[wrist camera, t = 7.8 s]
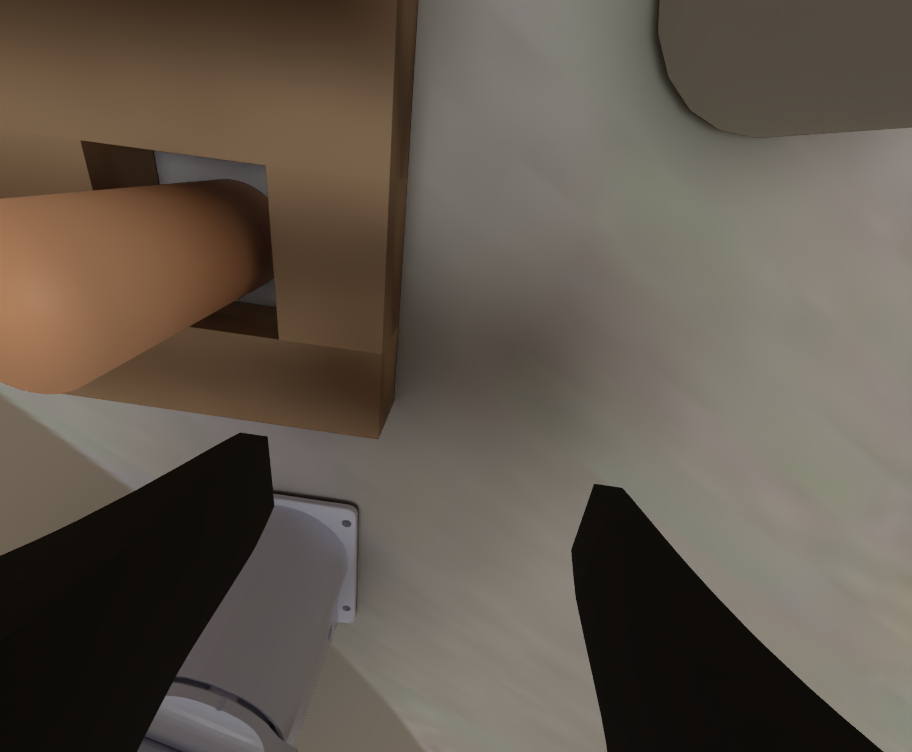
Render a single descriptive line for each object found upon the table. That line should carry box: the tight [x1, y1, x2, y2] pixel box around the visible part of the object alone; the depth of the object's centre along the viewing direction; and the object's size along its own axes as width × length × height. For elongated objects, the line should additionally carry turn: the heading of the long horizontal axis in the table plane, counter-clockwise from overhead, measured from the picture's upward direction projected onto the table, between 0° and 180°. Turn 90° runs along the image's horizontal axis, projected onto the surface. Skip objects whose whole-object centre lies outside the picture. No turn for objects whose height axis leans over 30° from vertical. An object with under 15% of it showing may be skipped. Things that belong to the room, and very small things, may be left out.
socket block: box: [0, 0, 418, 439], centre depth 12 cm, size 16×13×10 cm
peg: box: [0, 179, 274, 394], centre depth 13 cm, size 4×4×9 cm
